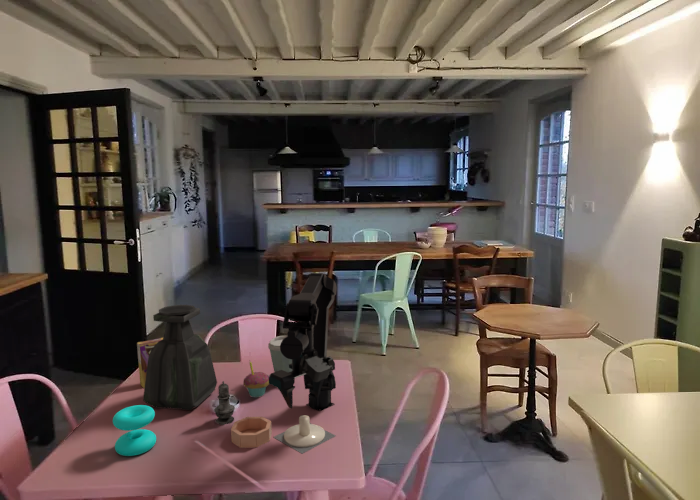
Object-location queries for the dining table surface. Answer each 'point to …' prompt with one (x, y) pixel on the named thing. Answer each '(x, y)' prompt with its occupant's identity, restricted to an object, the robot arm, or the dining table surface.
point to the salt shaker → (224, 406)
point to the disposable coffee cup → (278, 355)
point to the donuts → (134, 430)
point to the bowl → (251, 432)
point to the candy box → (145, 357)
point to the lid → (304, 433)
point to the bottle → (179, 363)
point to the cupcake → (256, 383)
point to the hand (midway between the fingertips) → (303, 402)
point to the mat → (304, 449)
